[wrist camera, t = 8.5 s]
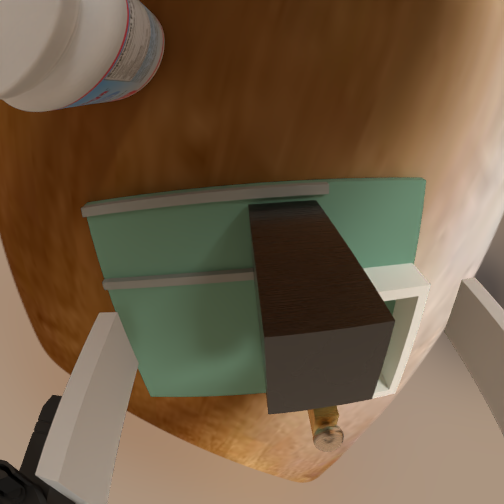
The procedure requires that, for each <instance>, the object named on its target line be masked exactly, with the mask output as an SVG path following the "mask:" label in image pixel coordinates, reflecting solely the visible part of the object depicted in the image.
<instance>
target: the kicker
mask: <svg viewBox="0 0 504 504" xmlns="http://www.w3.org/2000/svg"><path fill="white" fill-rule="evenodd" d="M248 212H249V225H250V239H251V252H252V266H253V275H254V284H255V294H256V303H257V313H258V322H259V332H260V341H261V350H262V360H263V369H264V378H265V388H266V397H267V407H268V414H278V413H287V412H295V411H303V410H308V414H309V419H310V424H311V429H312V434H313V442H314V445H315V446H316V447H317V448H318V449H319V450H321V451H324V452H331V451H334V450H336V449H337V448H339V447H340V445H341V444H342V442H343V438H344V435H343V431H342V429H341V428H340V427H339V426H337V421H338V417H339V414H338V410H337V405H342V404H348V403H353V402H359V401H364V400H369V399H372V398H373V395H374V392H375V389H376V386H377V383H378V380H379V377H380V373H381V370H382V367H383V364H384V360H385V357H386V353H387V350H388V346H389V343H390V339H391V335H392V332H393V328H394V324H395V319H394V318H393V316H392V314H391V313H390V311H389V309H388V308H387V306H386V304H385V303H384V301H383V299H382V298H381V296H380V295H379V293H378V291H377V290H376V288H375V287H374V285H373V283H372V282H371V280H370V279H369V277H368V276H367V274H366V273H365V271H364V269H363V268H362V266H361V265H360V263H359V262H358V260H357V259H356V257H355V256H354V254H353V253H352V251H351V250H350V248H349V247H348V245H347V244H346V242H345V241H344V239H343V238H342V236H341V235H340V233H339V232H338V230H337V229H336V228H335V226H334V225H333V223H332V222H331V220H330V219H329V217H328V216H327V215H326V213H325V212H324V210H323V209H322V208H321V206H320V205H319V203H318V202H317V201H316V200H308V201H291V202H276V203H263V204H249V205H248Z"/></svg>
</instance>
